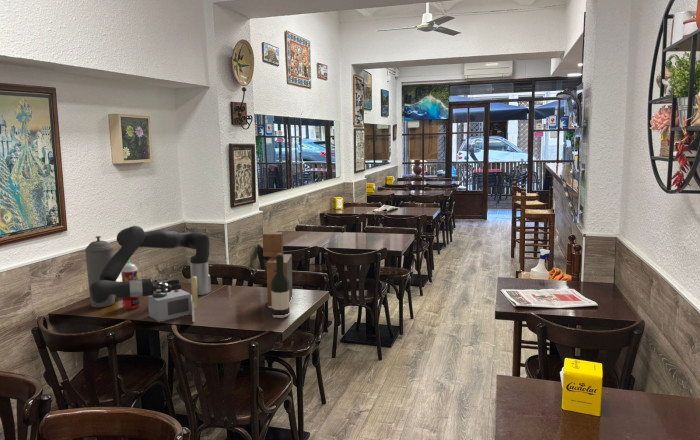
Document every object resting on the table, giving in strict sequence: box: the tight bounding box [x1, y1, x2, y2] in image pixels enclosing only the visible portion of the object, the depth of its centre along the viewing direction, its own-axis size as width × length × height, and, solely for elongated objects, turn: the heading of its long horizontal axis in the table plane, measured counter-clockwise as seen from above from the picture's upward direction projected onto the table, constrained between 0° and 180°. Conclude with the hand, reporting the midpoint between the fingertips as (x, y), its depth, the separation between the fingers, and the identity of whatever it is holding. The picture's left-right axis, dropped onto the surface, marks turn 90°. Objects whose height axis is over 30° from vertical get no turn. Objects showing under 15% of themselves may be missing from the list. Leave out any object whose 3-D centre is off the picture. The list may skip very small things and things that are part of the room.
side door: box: [190, 276, 199, 323], centre depth 241 cm, size 13×3×21 cm, turn 19°
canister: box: [84, 235, 116, 308], centre depth 260 cm, size 13×13×35 cm
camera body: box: [147, 288, 192, 323], centre depth 246 cm, size 16×11×11 cm
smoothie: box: [120, 259, 139, 282], centre depth 278 cm, size 8×8×20 cm
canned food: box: [122, 297, 141, 310], centre depth 258 cm, size 8×8×11 cm
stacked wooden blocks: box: [262, 231, 293, 306], centre depth 265 cm, size 19×14×35 cm
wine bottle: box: [271, 253, 290, 315], centre depth 245 cm, size 8×8×30 cm
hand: (179, 284), depth 234 cm, fingers open, 8 cm apart
